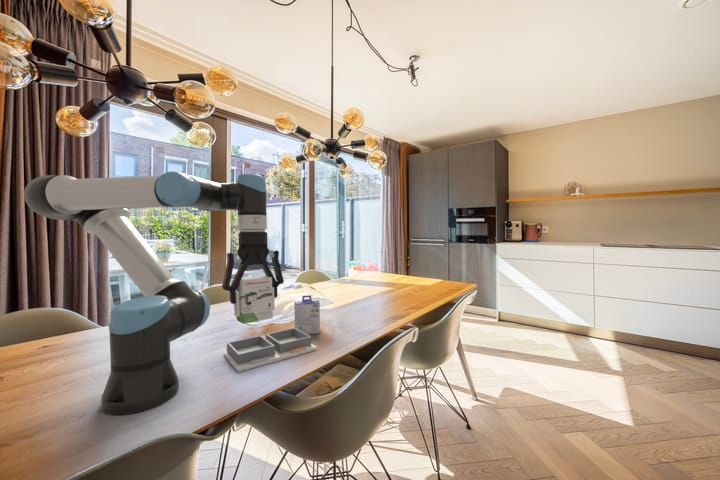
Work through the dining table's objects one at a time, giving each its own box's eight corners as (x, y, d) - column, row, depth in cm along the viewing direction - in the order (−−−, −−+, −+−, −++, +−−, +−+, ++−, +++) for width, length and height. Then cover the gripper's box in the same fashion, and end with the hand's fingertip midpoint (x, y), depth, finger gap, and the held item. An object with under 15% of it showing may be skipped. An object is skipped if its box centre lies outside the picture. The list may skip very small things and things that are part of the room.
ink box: (242, 324, 78) (241, 279, 78) (236, 320, 82) (235, 277, 82) (273, 317, 84) (272, 276, 84) (266, 314, 88) (265, 274, 87)
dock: (237, 372, 85) (237, 358, 85) (223, 355, 97) (223, 342, 97) (316, 349, 101) (316, 337, 101) (296, 337, 113) (296, 326, 113)
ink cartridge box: (318, 329, 123) (318, 294, 122) (320, 333, 118) (320, 297, 117) (294, 331, 120) (294, 295, 120) (295, 335, 115) (294, 298, 114)
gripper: (212, 231, 73) (215, 322, 74) (295, 230, 86) (296, 308, 86) (207, 231, 79) (209, 316, 80) (285, 230, 92) (286, 303, 92)
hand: (255, 312), depth 83 cm, fingers closed on ink box, 9 cm apart
